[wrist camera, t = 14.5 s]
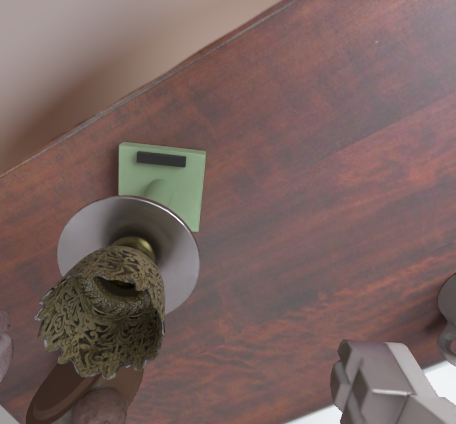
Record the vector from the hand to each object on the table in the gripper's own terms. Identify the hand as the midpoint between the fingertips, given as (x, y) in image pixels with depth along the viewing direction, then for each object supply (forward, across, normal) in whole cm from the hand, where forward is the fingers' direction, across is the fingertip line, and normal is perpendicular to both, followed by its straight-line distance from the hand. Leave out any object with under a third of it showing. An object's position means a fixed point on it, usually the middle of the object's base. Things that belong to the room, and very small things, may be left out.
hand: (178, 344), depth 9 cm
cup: (+18, +5, +9) cm, 21 cm away
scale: (+37, +5, +10) cm, 39 cm away
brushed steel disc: (+20, +5, +9) cm, 22 cm away
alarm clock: (+37, +12, +36) cm, 53 cm away
